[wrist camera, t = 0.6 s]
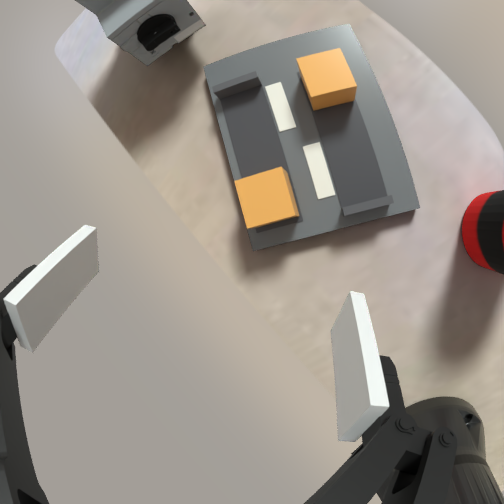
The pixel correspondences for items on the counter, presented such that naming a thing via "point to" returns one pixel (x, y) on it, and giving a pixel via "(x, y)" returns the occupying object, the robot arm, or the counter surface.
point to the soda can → (485, 230)
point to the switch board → (311, 136)
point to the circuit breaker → (145, 24)
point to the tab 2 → (327, 78)
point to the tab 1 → (266, 198)
